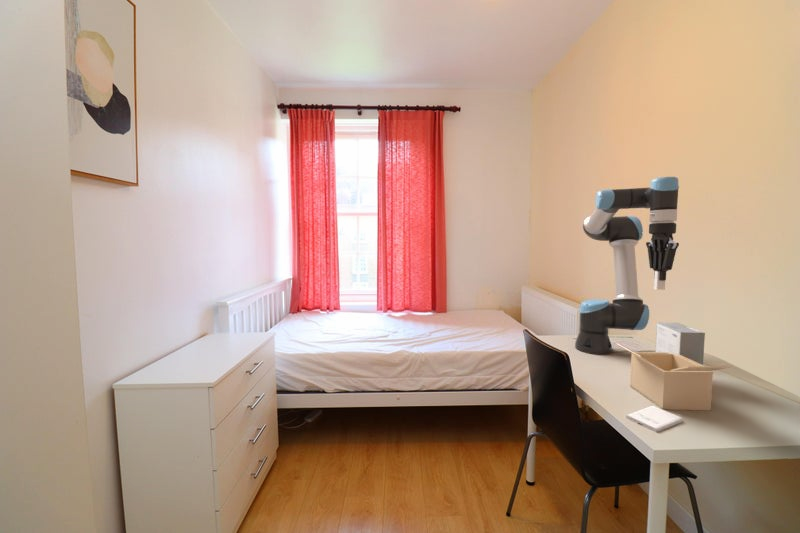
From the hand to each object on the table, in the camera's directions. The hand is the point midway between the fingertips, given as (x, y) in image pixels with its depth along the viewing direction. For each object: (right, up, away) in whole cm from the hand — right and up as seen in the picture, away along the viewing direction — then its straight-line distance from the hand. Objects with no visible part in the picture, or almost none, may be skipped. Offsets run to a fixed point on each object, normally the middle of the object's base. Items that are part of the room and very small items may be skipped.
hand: (659, 289), depth 119 cm
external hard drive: (-18, -37, -22) cm, 47 cm away
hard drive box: (+10, -34, +4) cm, 36 cm away
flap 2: (-5, -22, -22) cm, 31 cm away
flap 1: (-15, -21, -9) cm, 27 cm away
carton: (-4, -35, -9) cm, 36 cm away
